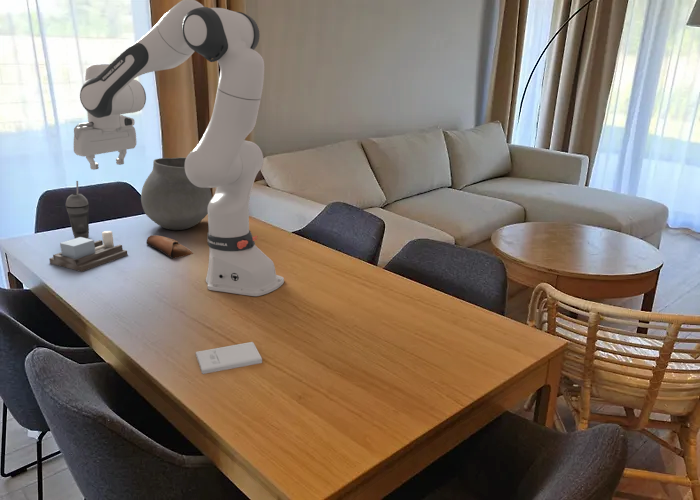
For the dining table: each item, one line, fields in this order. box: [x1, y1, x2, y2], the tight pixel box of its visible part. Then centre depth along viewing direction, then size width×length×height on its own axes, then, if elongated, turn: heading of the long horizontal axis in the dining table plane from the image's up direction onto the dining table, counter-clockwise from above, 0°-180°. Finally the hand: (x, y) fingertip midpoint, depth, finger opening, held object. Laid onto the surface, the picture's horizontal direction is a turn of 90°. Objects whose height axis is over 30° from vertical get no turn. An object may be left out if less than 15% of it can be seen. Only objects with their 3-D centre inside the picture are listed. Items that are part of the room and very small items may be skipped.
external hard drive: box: [195, 341, 263, 375], centre depth 120 cm, size 2×8×12 cm
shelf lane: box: [48, 239, 128, 273], centre depth 175 cm, size 14×17×3 cm
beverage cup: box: [65, 180, 90, 239], centre depth 191 cm, size 7×7×20 cm
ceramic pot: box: [140, 157, 213, 231], centre depth 205 cm, size 24×24×25 cm
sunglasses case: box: [145, 234, 194, 259], centre depth 185 cm, size 18×7×7 cm
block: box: [59, 230, 115, 259], centre depth 175 cm, size 6×16×5 cm, turn 153°
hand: (107, 166), depth 171 cm, fingers open, 8 cm apart
